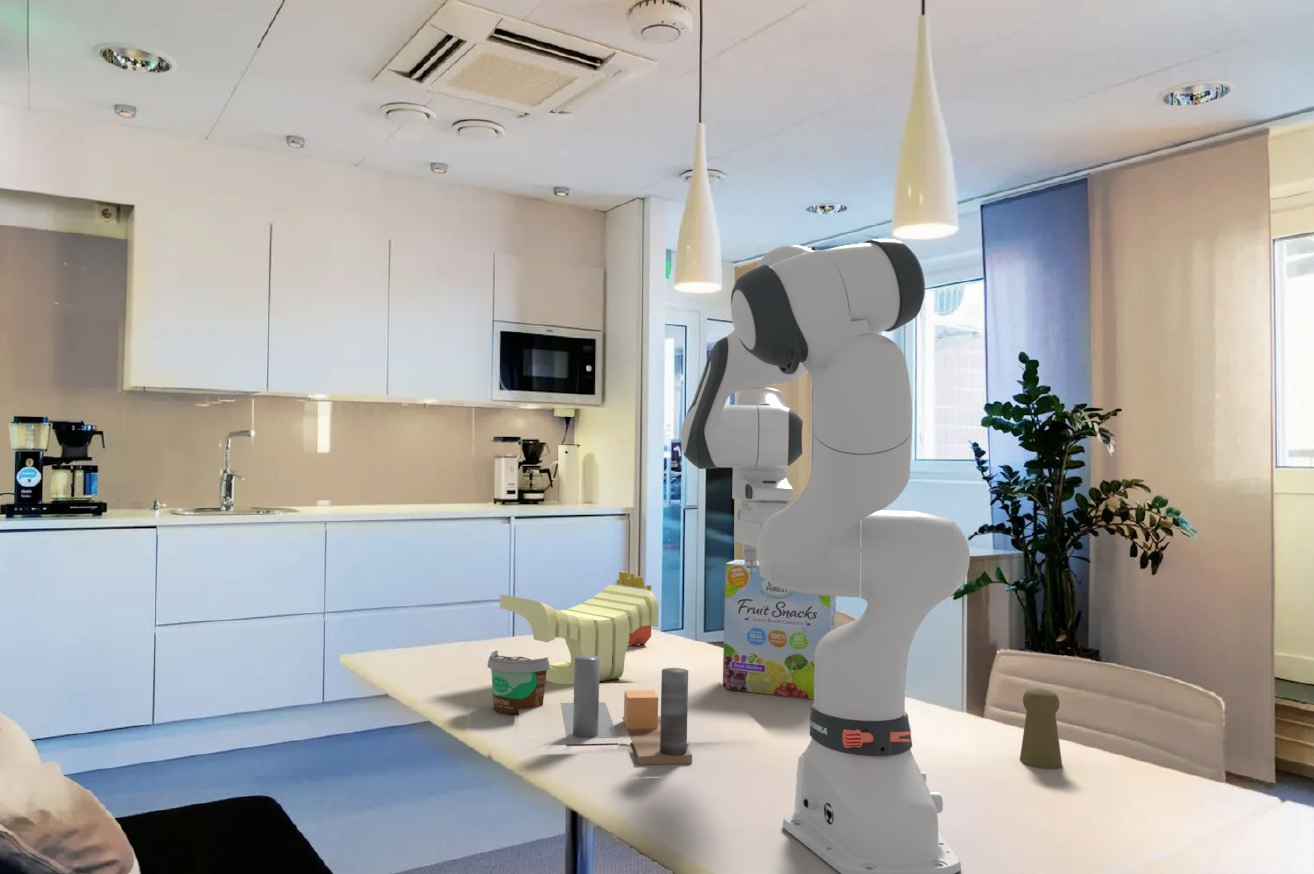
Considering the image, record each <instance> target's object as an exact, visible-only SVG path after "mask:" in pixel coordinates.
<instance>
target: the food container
mask: <svg viewBox="0 0 1314 874" xmlns="http://www.w3.org/2000/svg"><path fill="white" fill-rule="evenodd" d="M549 664H550V661H549V657H541V658H534V659H531V658H528V657H524V656H504V655H499V654H498V650H494V651H492V652H490V656H489V658H488V661H487V668H489V669H491V670H490V671H491V685H492V702H493V712H495V713H496V714H499V715H505V716H510V717H511V716H512V717H513V716H517V717H519V716H520V710H524V709H525V710H526V709H535V708H539V707H541V706H543V705H544V700H545V699H544V698H545V688H546V682H547V681H546V673H547V670H549V669H550V665H549Z"/></svg>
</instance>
